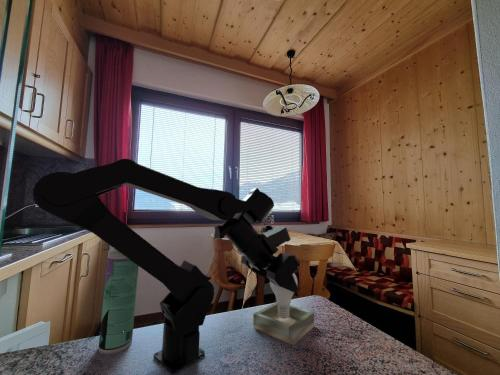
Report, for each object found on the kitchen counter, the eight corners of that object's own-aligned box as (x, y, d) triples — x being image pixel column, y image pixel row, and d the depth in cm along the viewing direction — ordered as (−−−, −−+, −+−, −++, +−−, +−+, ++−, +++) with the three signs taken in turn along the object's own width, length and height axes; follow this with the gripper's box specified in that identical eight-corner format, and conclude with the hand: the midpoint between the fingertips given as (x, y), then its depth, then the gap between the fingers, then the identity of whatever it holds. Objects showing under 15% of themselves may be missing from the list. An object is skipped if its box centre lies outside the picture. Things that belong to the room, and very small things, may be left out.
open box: (253, 328, 49) (253, 313, 49) (277, 313, 57) (277, 301, 57) (293, 345, 43) (293, 328, 43) (314, 326, 50) (314, 312, 51)
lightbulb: (277, 326, 46) (278, 271, 47) (264, 314, 52) (265, 265, 53) (303, 322, 48) (303, 269, 50) (288, 310, 54) (288, 264, 56)
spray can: (132, 335, 45) (141, 236, 48) (131, 350, 40) (140, 239, 43) (101, 341, 43) (111, 236, 45) (95, 357, 38) (107, 239, 40)
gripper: (291, 213, 43) (336, 268, 46) (253, 214, 60) (287, 254, 63) (254, 256, 39) (305, 314, 42) (224, 244, 56) (262, 285, 59)
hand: (288, 286), depth 51 cm, fingers closed on lightbulb, 6 cm apart
